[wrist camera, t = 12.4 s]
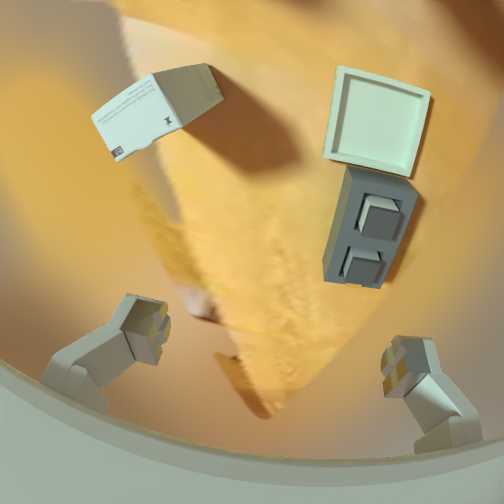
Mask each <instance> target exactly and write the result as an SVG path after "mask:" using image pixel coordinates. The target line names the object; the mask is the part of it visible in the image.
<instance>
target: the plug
mask: <svg viewBox="0 0 504 504" xmlns="http://www.w3.org/2000/svg"><path fill="white" fill-rule="evenodd" d="M400 215H401V214H400V212H399V210H398V208H397V207H396V205H395V203H394V201H393V200H392V198H388V197H384V196H379V195H374V194H370V193H365V192H364V195H363V199H362V202H361V206H360V209H359V213H358V216H357V221H358V225H359V228H360V231H361V235H362V237H368V238H374V239H379V240H385V241H390V242H391V239H392V237H393V234H394V232H395V229H396V226H397V224H398V221H399V218H400Z"/></svg>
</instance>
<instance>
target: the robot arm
mask: <svg viewBox="0 0 504 504" xmlns="http://www.w3.org/2000/svg"><path fill="white" fill-rule="evenodd" d="M167 311H168V305H167V303H166V302H162V301H158V300H154V299H150V298H146V297H142V296H138V295H134V294H130V293H127V294H126V295H125V296H124V297H123V299H122V300H121V302H120V304H119V305H118V307H117V309H116V310H115V312H114V314H113V315H112V317H111V319H110V321H109V322H108V324H107V326H104V325H102V326H101V327H99V328H97V329H96V330H94V331H92V332H91V333H89V334H87V335H86V336H84V337H82V338H80V339H79V340H77V341H75V342H74V343H72V344H70V345H69V346H67V347H65V348H63V349H62V350H60V351H59V352H57V353H55V354H54V356H53V357H52V359H51V361H50V362H49V364H48V366H47V368H46V369H45V371H44V373H43V375H42V377H41V378H40V380H39V382H37V381H35V380H34V379H32V378H30V377H28V376H26V375H25V374H23V373H22V372H20V371H18V370H17V369H15V368H13V367H12V366H10V365H8V364H7V363H6V362H4V361H2V360H1V359H0V504H504V435H501V436H497V437H494V438H491V439H487V440H483V438H482V431H481V426H480V421H479V416H478V412H477V410H476V409H475V408H474V407H473V405H472V404H471V403H470V402H469V401H468V399H467V398H466V397H465V396H464V395H463V394H462V392H461V391H460V390H459V389H458V388H457V386H456V385H455V384H454V383H453V382H452V381H451V379H450V378H449V377H448V376H447V375H446V374H445V373H442V370H441V366H440V363H439V359H438V355H437V352H436V348H435V345H434V341H433V339H432V338H429V337H418V336H399V335H397V336H395V337H394V338H393V340H392V341H391V343H392V346H390V347H388V348H387V349H386V350H385V351H384V353H383V355H382V359H381V372H382V373H383V375H384V376H385V377H386V378H385V379H384V381H383V390H384V397H385V398H403V400H404V401H405V403H406V404H407V406H408V408H409V409H410V411H411V412H412V414H413V416H414V417H415V419H416V421H417V422H418V424H419V426H420V427H421V429H422V431H423V432H424V434H425V435H424V436H422V437H421V438H419V439H418V440H416V441H415V443H414V451H415V454H413V455H404V456H395V457H383V458H365V459H312V458H295V457H283V456H273V455H264V454H257V453H249V452H243V451H236V450H231V449H225V448H220V447H215V446H210V445H205V444H201V443H196V442H192V441H188V440H184V439H180V438H177V437H173V436H169V435H165V434H162V433H159V432H155V431H152V430H149V429H146V428H143V427H140V426H137V425H134V424H131V423H128V422H125V421H123V420H120V419H117V418H115V417H112V416H109V415H107V414H105V412H106V410H107V407H108V405H109V401H108V399H107V398H106V396H105V395H104V394H103V392H102V391H101V389H103V388H104V387H105V386H106V385H108V384H109V383H110V382H111V381H113V380H114V379H115V378H116V377H118V376H119V375H120V374H121V373H123V372H124V371H125V370H126V369H128V368H129V367H130V366H131V365H132V364H134V363H135V361H138V362H142V363H146V364H150V365H154V366H157V364H158V362H159V359H160V357H161V354H162V347H161V345H162V344H164V343H165V342H167V339H168V337H169V333H170V328H171V321H170V317H169V316H168V315H167Z"/></svg>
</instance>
